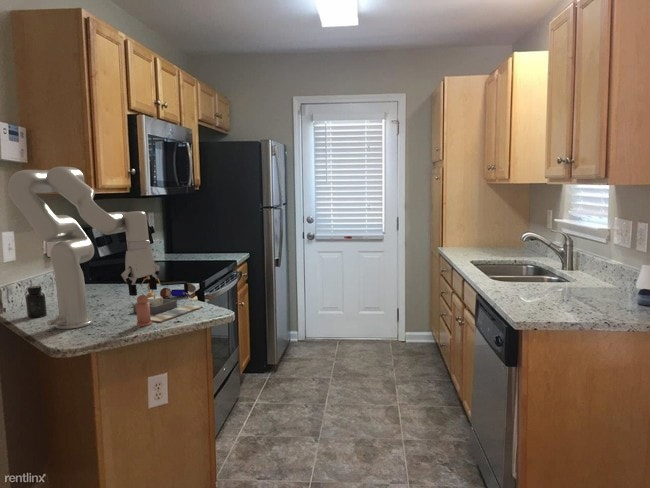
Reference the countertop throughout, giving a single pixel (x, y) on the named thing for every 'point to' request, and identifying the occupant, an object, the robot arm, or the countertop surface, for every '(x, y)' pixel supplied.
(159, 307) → the tray
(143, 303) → the pink cylinder
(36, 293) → the supplement bottle
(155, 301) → the die
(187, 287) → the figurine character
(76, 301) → the robot arm
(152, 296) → the figurine
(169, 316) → the track
